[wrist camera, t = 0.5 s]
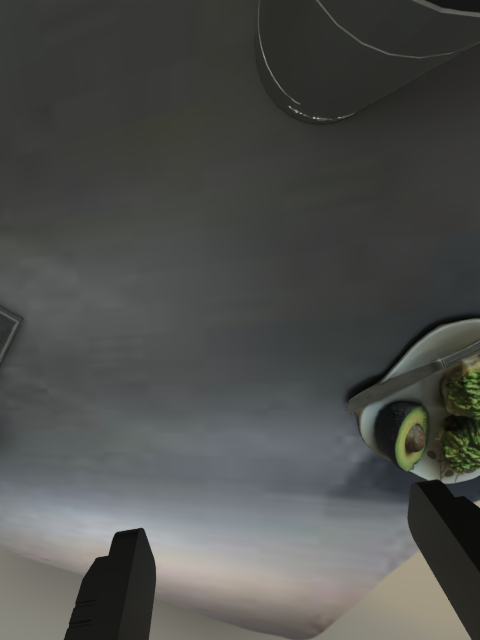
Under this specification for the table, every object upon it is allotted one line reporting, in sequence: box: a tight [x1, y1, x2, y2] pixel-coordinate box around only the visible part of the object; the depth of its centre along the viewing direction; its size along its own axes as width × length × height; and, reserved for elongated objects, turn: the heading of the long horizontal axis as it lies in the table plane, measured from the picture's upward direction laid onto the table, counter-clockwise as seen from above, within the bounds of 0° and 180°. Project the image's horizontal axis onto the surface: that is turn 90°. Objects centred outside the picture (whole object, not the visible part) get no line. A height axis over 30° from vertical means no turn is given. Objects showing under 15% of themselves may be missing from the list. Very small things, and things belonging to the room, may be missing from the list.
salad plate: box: [344, 318, 480, 484], centre depth 31 cm, size 19×18×5 cm
